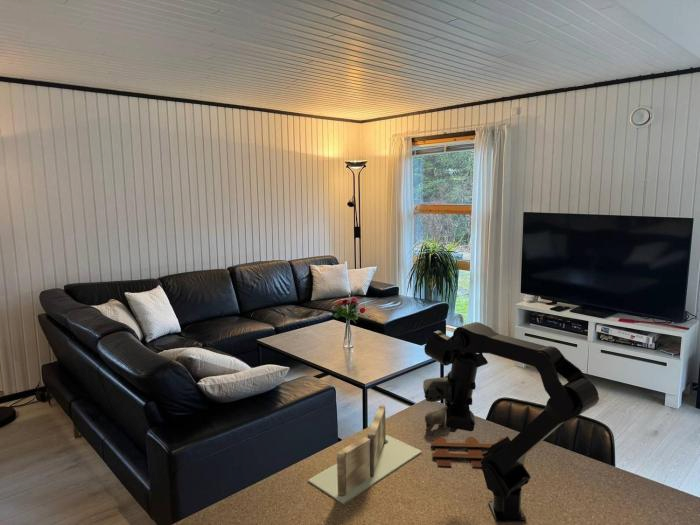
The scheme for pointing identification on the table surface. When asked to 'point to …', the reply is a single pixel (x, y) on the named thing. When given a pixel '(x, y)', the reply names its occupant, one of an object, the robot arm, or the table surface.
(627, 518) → the table surface
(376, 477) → the card
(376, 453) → the hinged fence panel
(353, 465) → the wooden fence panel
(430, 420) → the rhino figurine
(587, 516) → the table surface
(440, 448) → the decorative fence
